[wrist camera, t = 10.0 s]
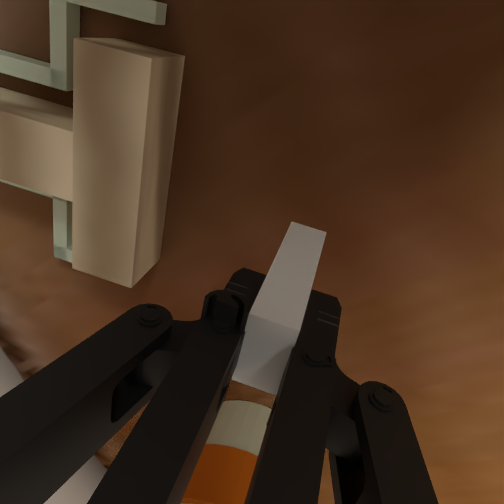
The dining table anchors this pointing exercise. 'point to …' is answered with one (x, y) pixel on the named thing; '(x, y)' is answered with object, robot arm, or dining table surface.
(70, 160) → the t block
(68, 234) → the t outline
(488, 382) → the dining table surface
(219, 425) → the reusable coffee cup
